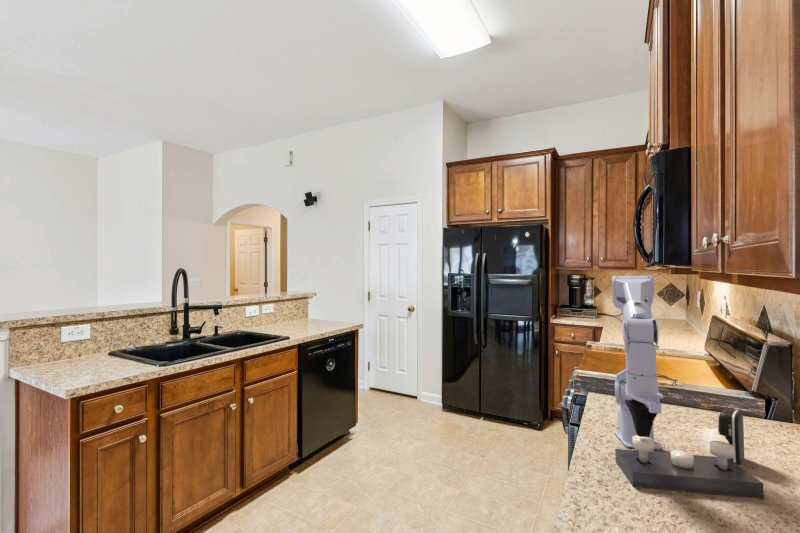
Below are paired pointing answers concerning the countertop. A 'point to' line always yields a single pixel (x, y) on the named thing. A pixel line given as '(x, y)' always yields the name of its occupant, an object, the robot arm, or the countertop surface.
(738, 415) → the battery charger
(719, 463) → the knob
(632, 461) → the mount plate
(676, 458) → the knob mid
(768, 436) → the countertop surface
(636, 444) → the knob
